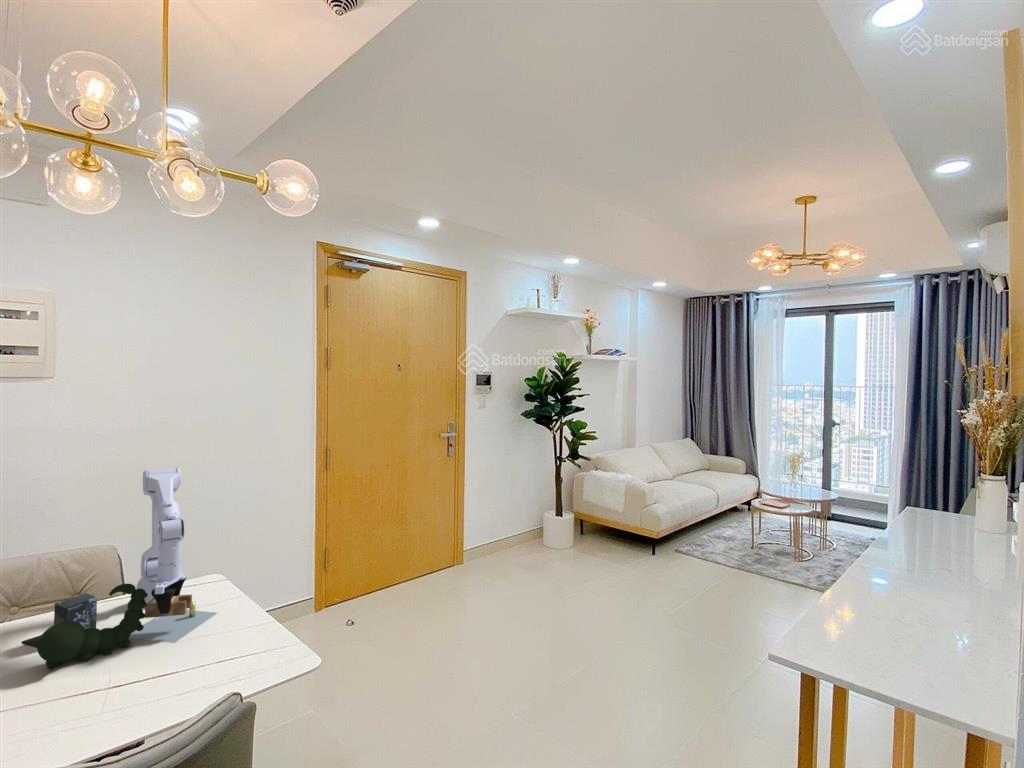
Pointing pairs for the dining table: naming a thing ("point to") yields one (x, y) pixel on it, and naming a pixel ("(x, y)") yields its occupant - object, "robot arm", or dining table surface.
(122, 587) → the toy figurine
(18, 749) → the dining table surface
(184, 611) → the wooden holder
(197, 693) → the dining table surface
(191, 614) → the peg
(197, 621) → the board
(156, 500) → the robot arm
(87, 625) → the box
